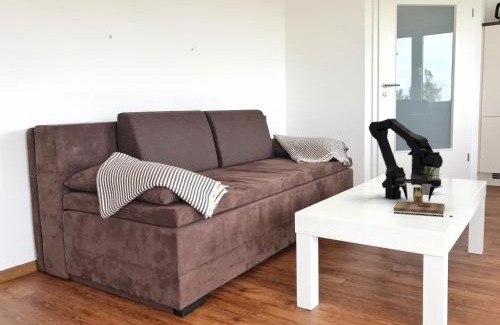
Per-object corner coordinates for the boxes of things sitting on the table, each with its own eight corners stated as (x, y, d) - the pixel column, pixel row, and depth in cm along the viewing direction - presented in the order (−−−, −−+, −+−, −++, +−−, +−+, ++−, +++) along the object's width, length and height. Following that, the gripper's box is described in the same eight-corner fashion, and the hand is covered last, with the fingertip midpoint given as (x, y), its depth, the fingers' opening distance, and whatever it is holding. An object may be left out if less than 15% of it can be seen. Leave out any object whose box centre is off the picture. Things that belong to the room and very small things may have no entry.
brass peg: (412, 203, 203) (413, 188, 202) (413, 201, 206) (413, 186, 205) (422, 204, 201) (422, 188, 200) (423, 202, 205) (423, 187, 204)
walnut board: (393, 213, 190) (393, 207, 190) (400, 202, 211) (400, 196, 211) (443, 217, 183) (443, 210, 182) (445, 205, 203) (445, 199, 203)
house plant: (449, 196, 221) (450, 163, 219) (420, 197, 221) (421, 164, 219) (437, 191, 235) (437, 159, 233) (410, 192, 235) (410, 160, 233)
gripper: (394, 167, 198) (393, 203, 200) (440, 169, 191) (439, 205, 192) (397, 164, 208) (396, 198, 210) (441, 165, 201) (440, 200, 202)
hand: (417, 200), depth 204 cm, fingers open, 9 cm apart
